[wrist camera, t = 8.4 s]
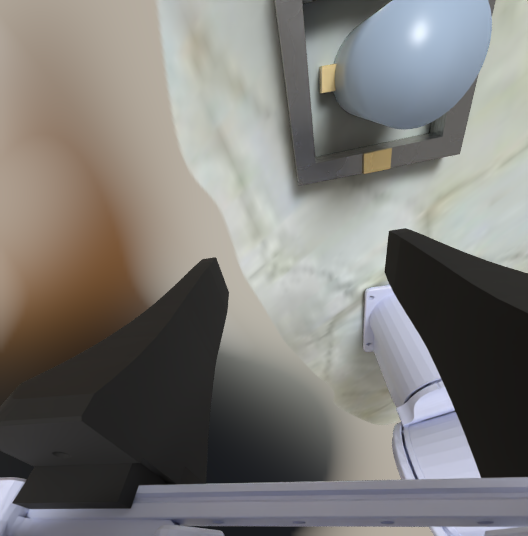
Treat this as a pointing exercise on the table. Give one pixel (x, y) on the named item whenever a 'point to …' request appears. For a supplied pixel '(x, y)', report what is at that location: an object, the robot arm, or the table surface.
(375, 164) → the collar
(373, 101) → the blue-grey rounded tapered piece
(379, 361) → the robot arm
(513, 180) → the table surface
